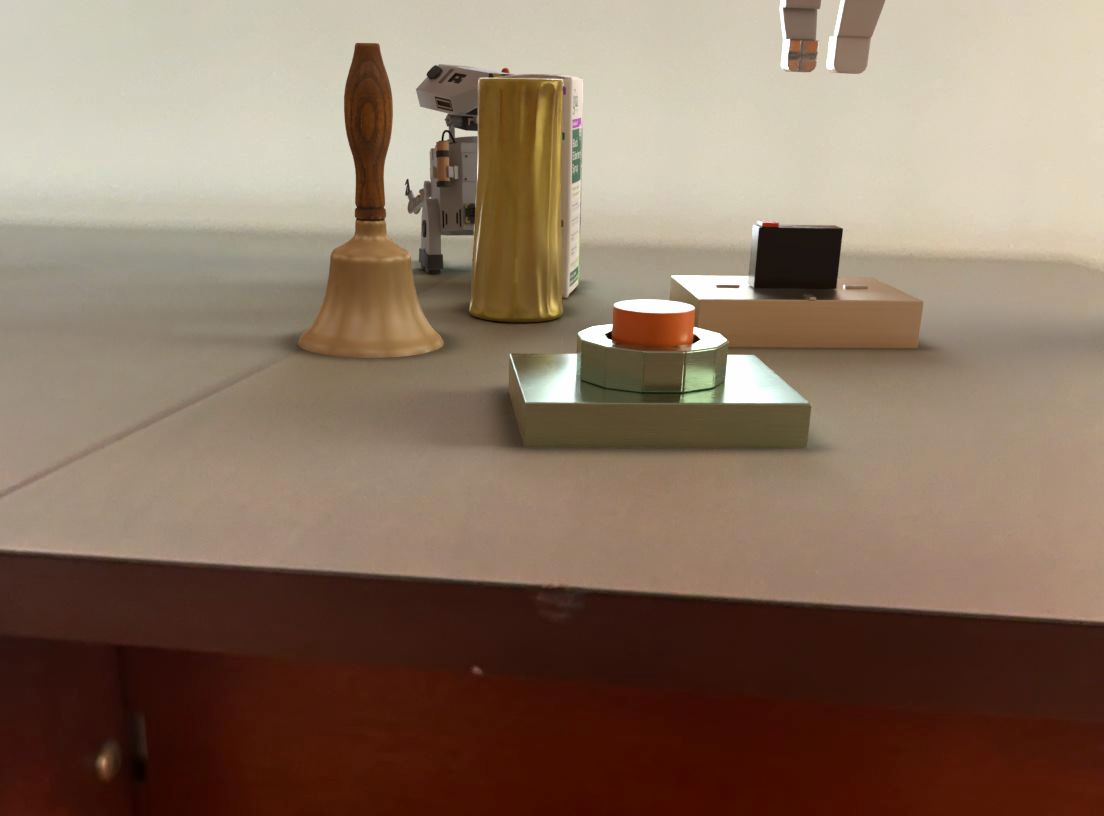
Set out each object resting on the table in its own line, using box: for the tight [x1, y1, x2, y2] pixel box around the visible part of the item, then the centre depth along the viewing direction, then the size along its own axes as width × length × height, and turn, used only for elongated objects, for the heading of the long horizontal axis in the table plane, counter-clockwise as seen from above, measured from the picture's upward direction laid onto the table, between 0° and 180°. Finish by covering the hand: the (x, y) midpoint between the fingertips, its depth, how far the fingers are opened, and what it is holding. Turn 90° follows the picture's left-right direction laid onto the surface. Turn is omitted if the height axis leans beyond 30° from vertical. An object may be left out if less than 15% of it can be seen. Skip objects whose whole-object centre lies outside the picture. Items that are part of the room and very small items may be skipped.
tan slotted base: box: [669, 274, 924, 349], centre depth 80 cm, size 13×9×3 cm
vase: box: [468, 78, 564, 324], centre depth 83 cm, size 6×6×14 cm
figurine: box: [404, 63, 516, 274], centre depth 103 cm, size 9×12×15 cm
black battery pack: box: [747, 219, 844, 289], centre depth 78 cm, size 5×2×4 cm, turn 94°
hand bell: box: [297, 42, 445, 359], centre depth 72 cm, size 8×8×16 cm
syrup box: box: [493, 73, 584, 299], centre depth 92 cm, size 6×6×14 cm
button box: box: [508, 323, 812, 449], centre depth 59 cm, size 12×10×4 cm
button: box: [611, 298, 695, 346], centre depth 58 cm, size 4×4×2 cm
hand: (820, 73), depth 74 cm, fingers open, 8 cm apart
